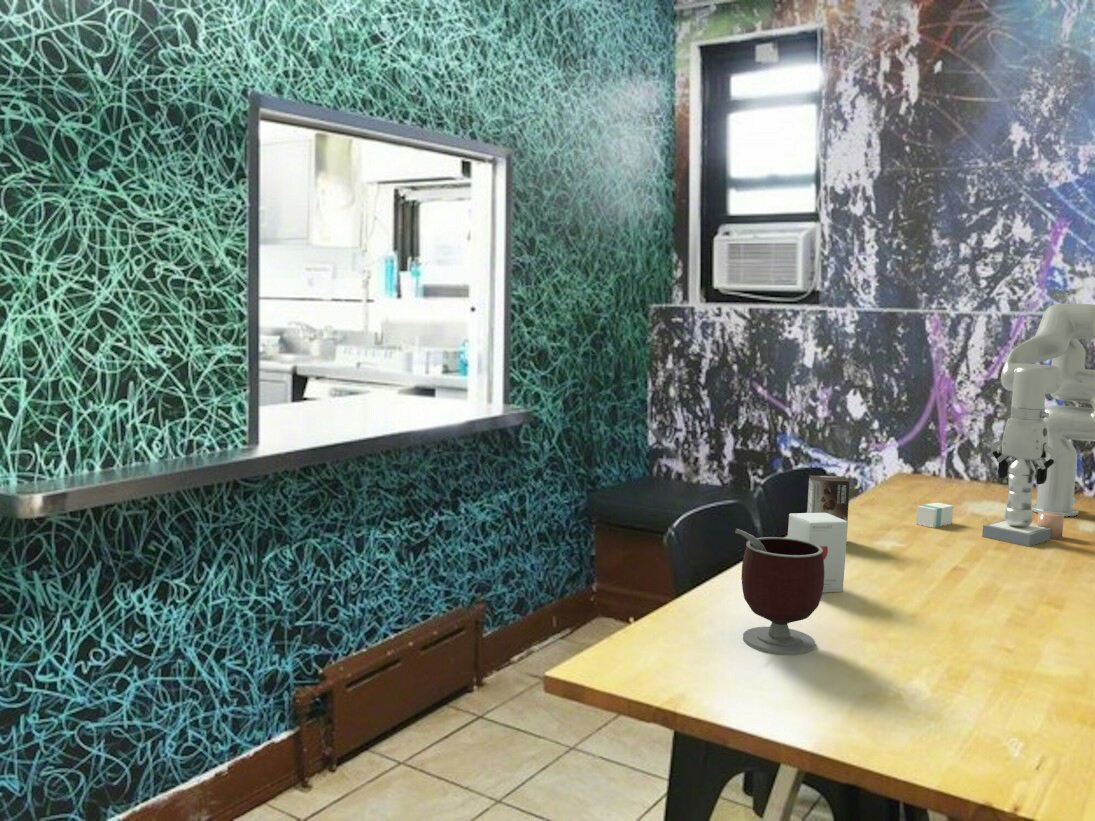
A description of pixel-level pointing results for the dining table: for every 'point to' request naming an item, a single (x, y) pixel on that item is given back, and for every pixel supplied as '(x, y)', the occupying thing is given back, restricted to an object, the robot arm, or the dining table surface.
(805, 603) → the mate gourd
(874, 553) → the dining table surface
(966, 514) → the dining table surface
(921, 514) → the lying carton
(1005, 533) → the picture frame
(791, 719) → the dining table surface
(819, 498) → the coffee box
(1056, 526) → the pink smooth rounded part
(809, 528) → the supplement box
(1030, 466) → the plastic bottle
